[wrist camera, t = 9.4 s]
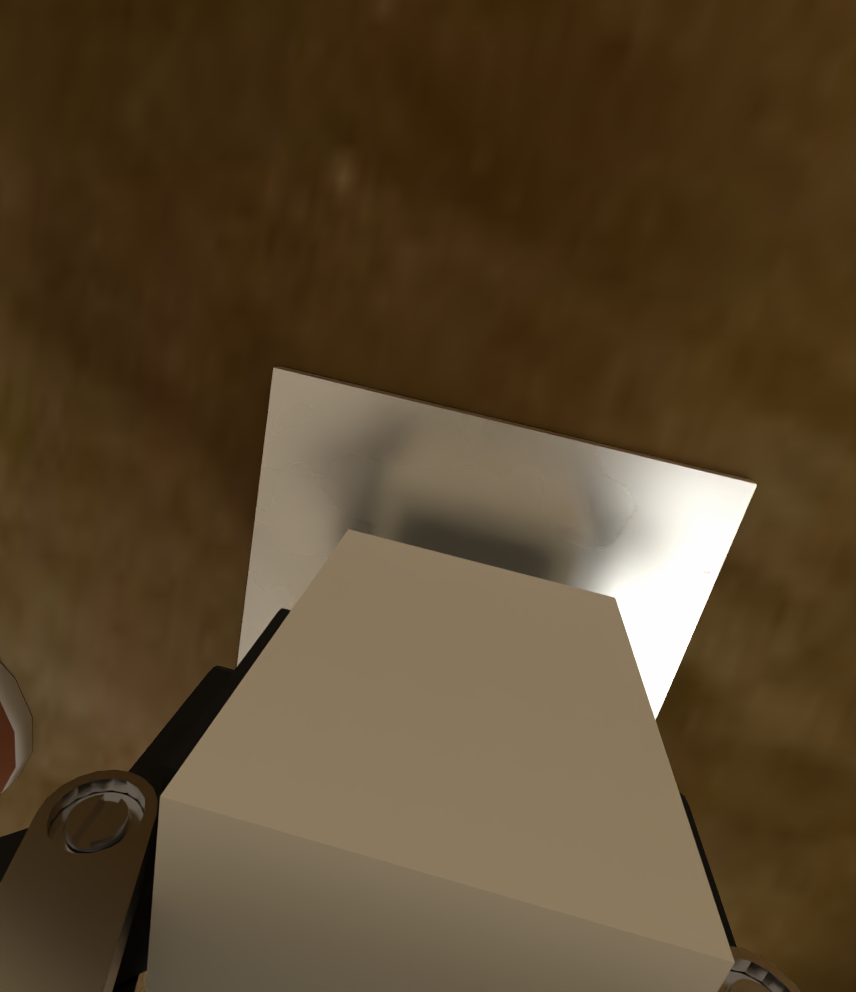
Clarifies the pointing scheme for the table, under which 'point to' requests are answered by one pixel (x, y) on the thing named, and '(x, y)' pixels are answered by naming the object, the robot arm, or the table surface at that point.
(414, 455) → the white square base
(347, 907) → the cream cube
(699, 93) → the table surface
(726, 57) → the table surface
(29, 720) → the coffee cup
